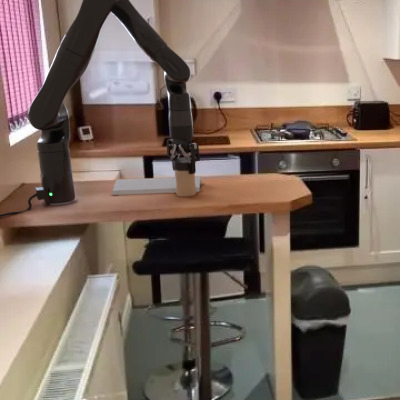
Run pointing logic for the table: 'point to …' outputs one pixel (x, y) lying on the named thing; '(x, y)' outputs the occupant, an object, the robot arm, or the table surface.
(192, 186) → the coffee jar
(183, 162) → the jar lid
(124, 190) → the crown molding
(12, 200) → the table surface
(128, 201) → the table surface
